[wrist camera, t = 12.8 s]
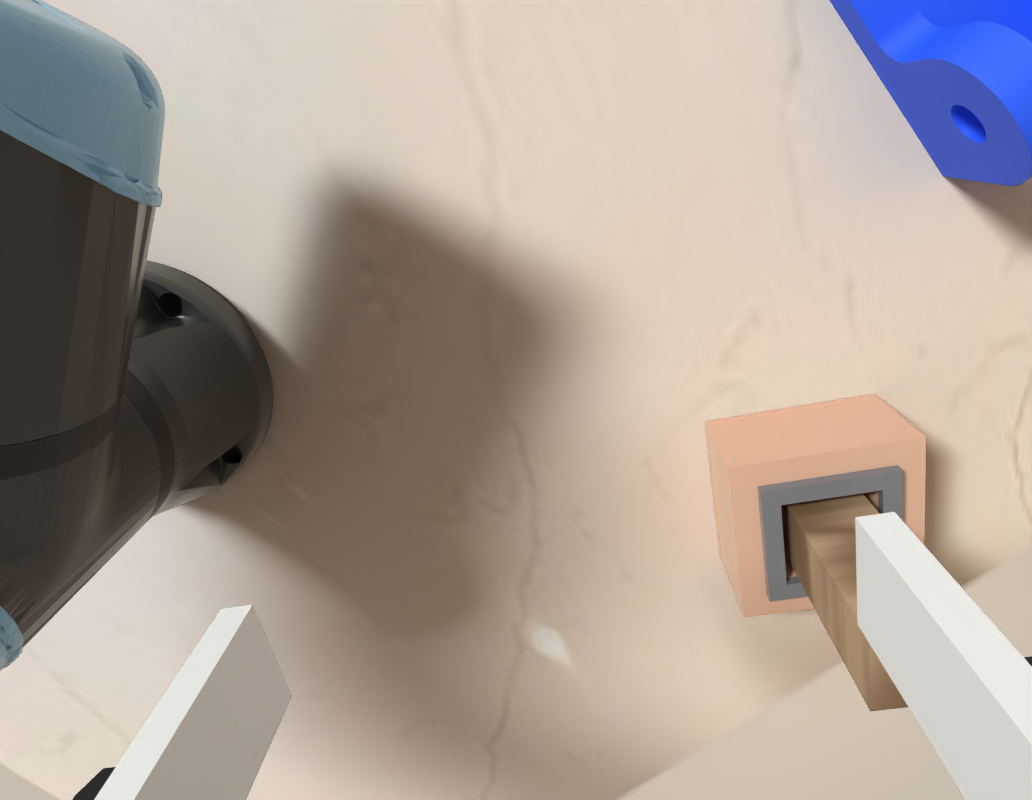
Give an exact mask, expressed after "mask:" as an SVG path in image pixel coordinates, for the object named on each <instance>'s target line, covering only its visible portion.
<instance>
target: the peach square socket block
mask: <svg viewBox="0 0 1032 800" xmlns="http://www.w3.org/2000/svg"><path fill="white" fill-rule="evenodd" d="M705 428H706V437H707V446H708V455H709V463H710V472H711V481H712V490H713V498H714V507H715V516H716V525H717V534H718V542H719V551H720V558H721V560H722V563H723V565H724V568H725V571H726V573H727V576H728V578H729V581H730V583H731V586H732V588H733V591H734V594H735V596H736V599H737V601H738V604H739V606H740V609H741V612H742V614H743V617H751V616H759V615H767V614H774V613H782V612H790V611H797V610H805V609H813V608H814V606H813V604H812V603H811V601H810V599H809V597H808V595H807V593H806V592H805V590H804V588H803V586H802V584H801V582H800V580H799V579H798V577H797V575H796V573H795V571H794V569H793V568H792V566H791V564H790V562H789V560H788V558H787V557H786V555H785V553H784V539H783V525H782V511H781V505H787V504H794V503H800V502H807V501H814V500H821V499H827V498H834V497H841V496H847V495H854V494H861V493H863V494H864V496H865V497H866V498H867V499H868V500H869V502H870V503H871V504H872V505H873V506H874V507H875V509H876V510H877V511H878V512H879V513H880V514H882V513H889V512H895V513H896V514H897V515H898V516H899V517H900V519H901V520H902V521H903V522H904V523H905V524H906V525H907V526H908V528H909V529H910V530H911V531H912V532H913V533H914V534H915V536H916V537H917V538H918V539H919V540H920V541H921V542H922V543H923V545H924V536H925V477H926V436H925V435H923V434H922V433H921V432H920V431H919V430H917V429H916V428H915V427H914V426H913V425H912V424H910V423H909V422H908V421H907V420H906V419H904V418H903V417H902V416H901V415H900V414H898V413H897V412H896V411H895V410H894V409H892V408H891V407H890V406H889V405H888V404H886V403H885V402H884V401H883V400H882V399H881V398H879V397H878V396H877V395H876V394H870V395H864V396H858V397H852V398H845V399H839V400H833V401H827V402H821V403H815V404H809V405H803V406H797V407H791V408H785V409H779V410H773V411H767V412H760V413H754V414H748V415H742V416H736V417H730V418H724V419H718V420H712V421H706V422H705Z"/></svg>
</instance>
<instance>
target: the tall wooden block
mask: <svg viewBox="0 0 1032 800" xmlns="http://www.w3.org/2000/svg"><path fill="white" fill-rule="evenodd" d="M781 511H782V525H783V539H784V553H785V555H786V557H787V558H788V560H789V562H790V564H791V566H792V568H793V569H794V571H795V573H796V575H797V577H798V579H799V580H800V582H801V584H802V586H803V588H804V590H805V592H806V593H807V595H808V597H809V599H810V601H811V603H812V604H813V606H814V608H815V610H816V612H817V614H818V616H819V617H820V619H821V621H822V623H823V625H824V627H825V628H826V630H827V632H828V634H829V636H830V638H831V639H832V641H833V643H834V645H835V647H836V649H837V651H838V652H839V654H840V656H841V658H842V660H843V662H844V663H845V665H846V667H847V669H848V671H849V672H850V674H851V676H852V678H853V680H854V682H855V684H856V686H857V687H858V689H859V691H860V693H861V694H862V697H863V698H864V700H865V702H866V704H867V706H868V708H869V709H870V711H877V710H886V709H895V708H904V707H908V705H907V704H906V702H905V701H904V699H903V697H902V696H901V694H900V692H899V691H898V689H897V688H896V686H895V684H894V683H893V681H892V679H891V678H890V676H889V675H888V673H887V671H886V670H885V668H884V666H883V665H882V663H881V662H880V660H879V658H878V657H877V655H876V653H875V652H874V650H873V649H872V647H871V645H870V644H869V642H868V640H867V639H866V637H865V636H864V634H863V632H862V631H861V629H860V627H859V626H858V624H857V578H856V532H855V517H861V516H868V515H875V514H880V513H879V512H878V511H877V510H876V509H875V507H874V506H873V505H872V504H871V503H870V502H869V500H868V499H867V498H866V497H865V496H864V494H863V493H861V494H854V495H847V496H841V497H834V498H827V499H821V500H814V501H807V502H800V503H794V504H787V505H781Z"/></svg>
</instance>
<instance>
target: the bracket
mask: <svg viewBox="0 0 1032 800" xmlns="http://www.w3.org/2000/svg"><path fill="white" fill-rule="evenodd" d="M830 2H831V3H832V5H833V6H834V8H835V9H836V11H837V13H838V14H839V16H840V17H841V19H842V20H843V22H844V23H845V25H846V26H847V28H848V30H849V31H850V33H851V34H852V36H853V37H854V39H855V40H856V42H857V44H858V45H859V47H860V48H861V50H862V51H863V53H864V54H865V56H866V57H867V59H868V61H869V62H870V64H871V65H872V67H873V68H874V70H875V71H876V73H877V75H878V76H879V78H880V79H881V81H882V82H883V84H884V85H885V87H886V89H887V90H888V92H889V93H890V95H891V96H892V98H893V99H894V101H895V102H896V104H897V106H898V107H899V109H900V110H901V112H902V113H903V115H904V116H905V118H906V120H907V121H908V123H909V124H910V126H911V127H912V129H913V130H914V132H915V134H916V135H917V137H918V138H919V140H920V141H921V143H922V144H923V146H924V147H925V149H926V151H927V152H928V154H929V155H930V157H931V158H932V160H933V161H934V163H935V165H936V166H937V168H938V169H939V171H940V172H941V174H942V175H943V176H944V177H951V178H958V179H965V180H972V181H979V182H986V183H993V184H1000V185H1008V186H1015V185H1019V184H1021V183H1023V182H1025V181H1026V180H1028V179H1029V178H1030V177H1032V0H830Z"/></svg>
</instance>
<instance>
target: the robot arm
mask: <svg viewBox="0 0 1032 800" xmlns="http://www.w3.org/2000/svg"><path fill="white" fill-rule="evenodd" d="M164 119H165V104H164V98H163V95H162V91H161V88H160V86H159V83H158V81H157V79H156V78H155V76H154V74H153V73H152V71H151V70H150V69H149V67H148V66H147V65H146V63H145V62H144V61H143V60H142V59H141V58H140V57H139V56H138V55H137V54H135V53H134V52H133V51H132V50H130V49H129V48H128V47H126V46H125V45H123V44H122V43H120V42H119V41H117V40H116V39H114V38H112V37H110V36H109V35H107V34H105V33H103V32H101V31H100V30H98V29H96V28H94V27H92V26H90V25H88V24H87V23H85V22H83V21H81V20H79V19H77V18H75V17H73V16H71V15H69V14H67V13H65V12H63V11H61V10H59V9H57V8H55V7H53V6H51V5H49V4H47V3H45V2H43V1H41V0H0V670H2V669H3V668H5V667H7V666H8V665H10V664H11V663H12V662H13V661H15V660H16V659H17V658H18V657H19V655H20V654H21V653H22V648H23V647H24V646H25V645H26V644H27V643H28V642H29V641H30V640H31V639H32V638H33V637H34V636H35V635H36V634H37V633H38V632H39V631H40V630H41V629H42V628H43V627H44V626H45V625H46V623H47V622H48V621H49V620H50V619H51V618H52V617H53V616H54V615H55V614H56V613H57V612H58V611H59V610H60V609H61V608H62V607H63V606H64V605H65V604H66V603H67V602H68V601H69V600H70V599H71V598H72V597H73V596H74V595H75V594H76V593H77V592H78V591H79V590H80V589H81V588H82V587H83V586H84V585H85V584H86V583H87V582H88V581H89V580H90V579H91V578H92V577H93V576H94V575H95V574H96V573H97V572H98V571H99V570H100V569H101V568H102V567H103V566H104V565H105V564H106V563H107V562H108V561H109V560H110V559H111V558H112V557H113V556H114V555H115V554H116V553H117V552H118V551H119V550H120V549H121V548H122V547H123V546H124V545H125V543H126V542H127V541H128V540H129V539H130V538H131V537H132V536H133V535H134V534H135V533H136V532H137V531H138V530H139V529H140V528H141V527H142V526H143V525H144V524H145V523H146V522H147V521H148V520H149V519H150V518H151V517H152V516H154V515H156V514H159V513H162V512H164V511H167V510H169V509H172V508H174V507H177V506H179V505H182V504H185V503H187V502H190V501H192V500H195V499H197V498H200V497H202V496H205V495H207V494H209V493H211V492H213V491H214V490H216V489H218V488H219V487H221V486H222V485H224V484H225V483H226V482H228V481H229V480H230V479H231V478H233V477H234V476H235V475H236V474H237V473H238V472H239V471H240V469H241V468H242V467H243V466H244V465H245V464H246V463H247V462H248V461H249V459H250V458H251V457H252V456H253V455H254V454H255V452H256V451H257V449H258V448H259V446H260V445H261V443H262V441H263V439H264V437H265V435H266V432H267V429H268V427H269V423H270V419H271V413H272V403H273V393H272V383H271V377H270V373H269V369H268V366H267V362H266V359H265V357H264V354H263V352H262V350H261V347H260V345H259V343H258V341H257V340H256V338H255V336H254V334H253V333H252V331H251V330H250V328H249V327H248V325H247V324H246V323H245V321H244V320H243V319H242V317H241V316H240V315H239V314H238V313H237V312H236V310H235V309H234V308H233V307H232V306H231V305H230V304H229V303H228V302H227V301H226V300H224V299H223V298H222V297H221V296H220V295H219V294H217V293H216V292H215V291H214V290H212V289H211V288H210V287H208V286H207V285H205V284H204V283H202V282H200V281H199V280H197V279H196V278H194V277H192V276H190V275H188V274H186V273H184V272H182V271H179V270H177V269H174V268H172V267H169V266H166V265H163V264H159V263H155V262H151V261H146V259H147V254H148V248H149V242H150V237H151V231H152V225H153V220H154V214H155V208H156V207H160V206H161V203H162V192H161V190H160V189H159V187H158V175H159V165H160V155H161V146H162V137H163V128H164ZM855 532H856V578H857V624H858V626H859V627H860V629H861V631H862V632H863V634H864V636H865V637H866V639H867V640H868V642H869V644H870V645H871V647H872V649H873V650H874V652H875V653H876V655H877V657H878V658H879V660H880V662H881V663H882V665H883V666H884V668H885V670H886V671H887V673H888V675H889V676H890V678H891V679H892V681H893V683H894V684H895V686H896V688H897V689H898V691H899V692H900V694H901V696H902V697H903V699H904V701H905V702H906V704H907V705H908V707H909V709H910V710H911V712H912V714H913V715H914V717H915V718H916V720H917V721H918V723H919V725H920V727H921V728H922V729H923V731H924V733H925V735H926V736H927V738H928V740H929V741H930V743H931V744H932V746H933V748H934V749H935V751H936V752H937V754H938V756H939V757H940V759H941V761H942V762H943V764H944V766H945V767H946V769H947V770H948V772H949V774H950V775H951V777H952V778H953V780H954V782H955V783H956V785H957V787H958V788H959V790H960V791H961V793H962V795H963V796H964V798H965V800H1032V657H1025V658H1024V657H1023V656H1022V655H1021V654H1020V653H1019V652H1018V651H1017V649H1016V648H1015V647H1014V646H1013V645H1012V644H1011V643H1010V642H1009V640H1008V639H1007V638H1006V637H1005V636H1004V635H1003V634H1002V633H1001V631H1000V630H999V629H998V628H997V627H996V626H995V625H994V624H993V623H992V621H991V620H990V619H989V618H988V617H987V616H986V615H985V613H983V611H982V610H981V609H980V608H979V607H978V605H977V604H976V603H975V602H974V601H973V600H972V599H971V598H970V596H969V595H968V594H967V593H966V592H965V591H964V590H963V589H962V587H961V586H960V585H959V584H958V583H957V582H956V581H955V580H954V578H953V577H952V576H951V575H950V574H949V573H948V572H947V570H946V569H945V568H944V567H943V566H942V565H941V564H940V563H939V561H938V560H937V559H936V558H935V557H934V556H933V555H932V554H931V552H930V551H929V550H928V549H927V548H926V547H925V546H924V545H923V543H922V542H921V541H920V540H919V539H918V538H917V537H916V536H915V534H914V533H913V532H912V531H911V530H910V529H909V528H908V526H907V525H906V524H905V523H904V522H903V521H902V520H901V519H900V517H899V516H898V515H897V514H896V513H895V512H889V513H882V514H875V515H868V516H861V517H855ZM291 697H292V696H291V693H290V691H289V689H288V686H287V684H286V682H285V679H284V677H283V675H282V672H281V670H280V668H279V665H278V663H277V660H276V658H275V656H274V653H273V651H272V649H271V646H270V644H269V642H268V639H267V637H266V635H265V632H264V630H263V628H262V625H261V623H260V620H259V618H258V616H257V613H256V611H255V609H254V606H253V604H252V605H245V606H238V607H231V608H224V609H221V610H220V611H219V613H218V614H217V616H216V617H215V619H214V620H213V622H212V623H211V625H210V626H209V628H208V629H207V631H206V632H205V634H204V635H203V637H202V638H201V640H200V641H199V643H198V644H197V646H196V647H195V649H194V650H193V652H192V653H191V655H190V656H189V658H188V659H187V661H186V662H185V664H184V665H183V667H182V668H181V670H180V671H179V673H178V674H177V676H176V677H175V679H174V680H173V682H172V683H171V685H170V686H169V688H168V689H167V691H166V692H165V694H164V695H163V697H162V698H161V700H160V701H159V703H158V704H157V706H156V707H155V709H154V710H153V712H152V713H151V715H150V716H149V718H148V719H147V721H146V722H145V724H144V725H143V727H142V728H141V730H140V731H139V733H138V734H137V736H136V737H135V739H134V740H133V742H132V743H131V745H130V746H129V748H128V749H127V751H126V752H125V754H124V755H123V757H122V759H121V760H120V762H119V763H118V765H117V766H116V767H112V768H104V769H102V770H101V771H100V772H99V773H98V774H97V775H96V776H95V777H94V778H93V779H92V780H91V781H90V782H89V783H88V784H87V785H86V786H85V787H83V788H82V789H81V790H80V791H79V792H78V793H77V794H76V795H75V797H74V798H73V800H246V798H247V796H248V794H249V792H250V789H251V787H252V785H253V783H254V780H255V778H256V776H257V773H258V771H259V769H260V767H261V764H262V762H263V760H264V758H265V755H266V753H267V751H268V749H269V746H270V744H271V742H272V740H273V737H274V735H275V733H276V731H277V728H278V726H279V724H280V722H281V719H282V717H283V715H284V713H285V710H286V708H287V706H288V703H289V701H290V699H291Z"/></svg>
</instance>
